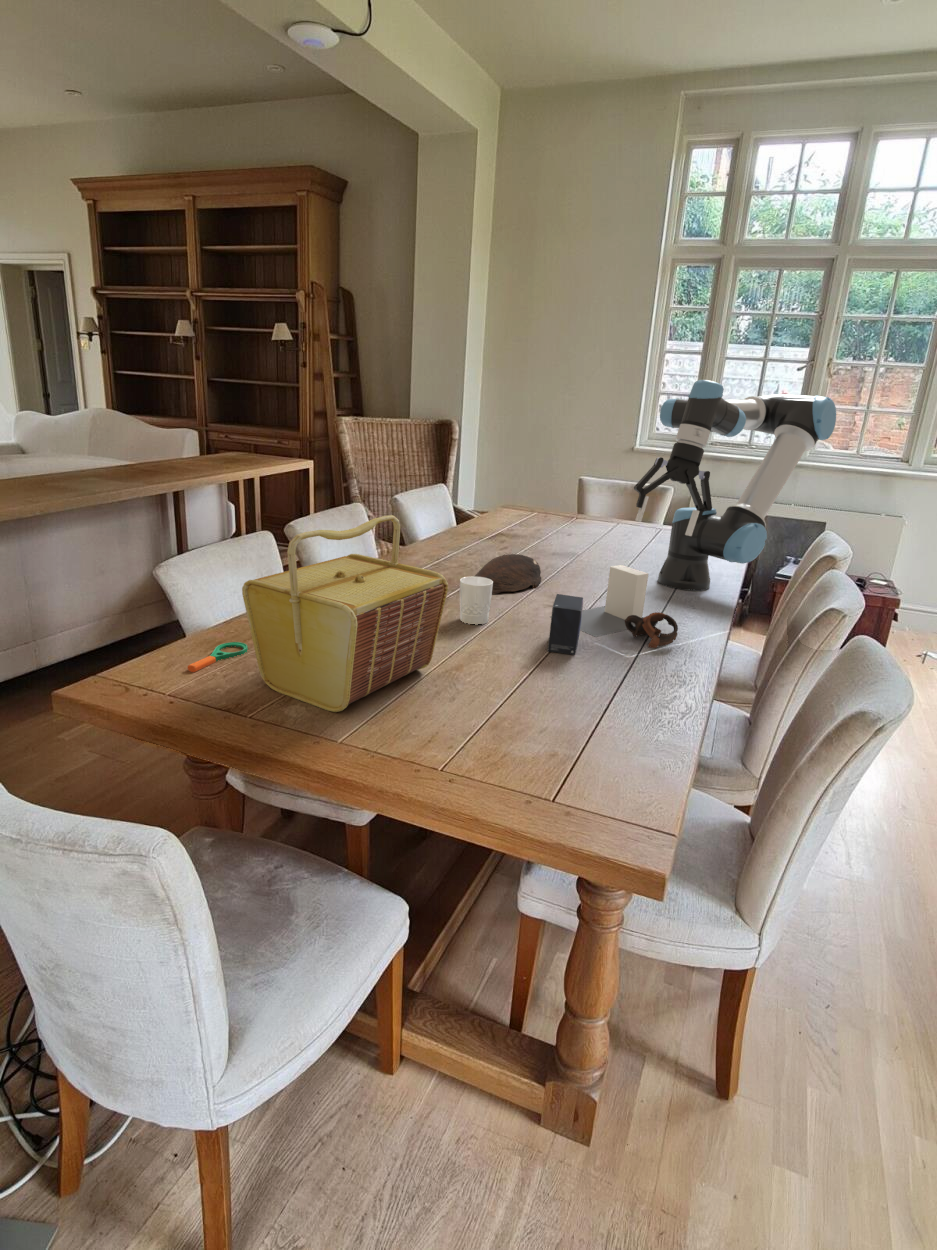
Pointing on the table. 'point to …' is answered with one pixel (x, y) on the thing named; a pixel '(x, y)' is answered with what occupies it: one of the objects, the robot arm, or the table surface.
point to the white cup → (475, 599)
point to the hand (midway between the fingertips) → (663, 528)
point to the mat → (601, 622)
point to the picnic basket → (343, 622)
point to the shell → (511, 573)
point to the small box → (565, 624)
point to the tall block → (626, 592)
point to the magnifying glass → (218, 655)
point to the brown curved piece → (652, 628)
